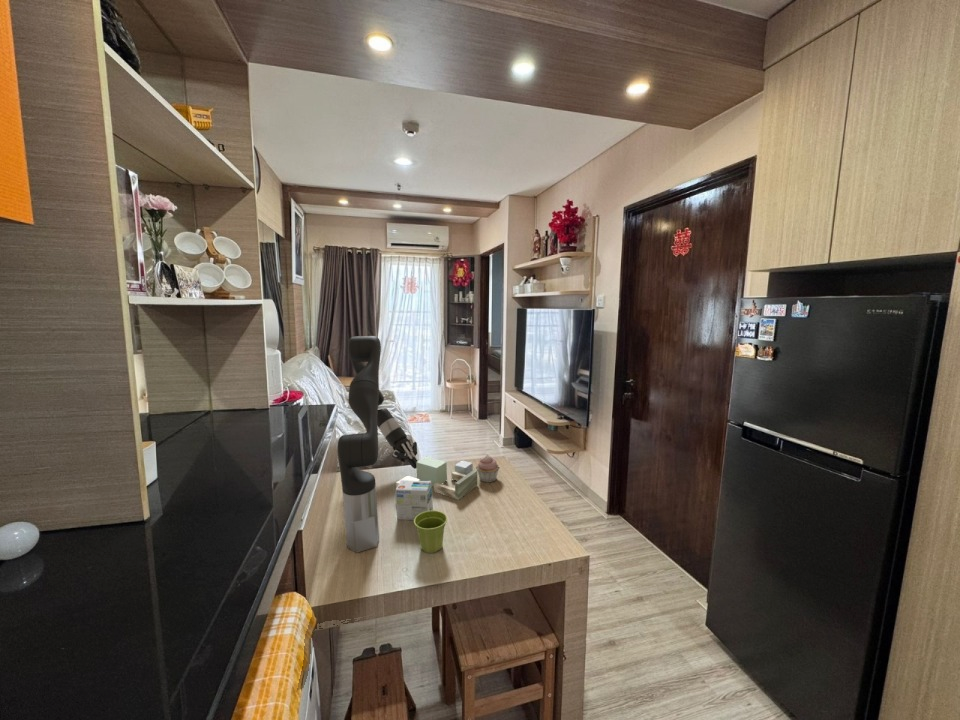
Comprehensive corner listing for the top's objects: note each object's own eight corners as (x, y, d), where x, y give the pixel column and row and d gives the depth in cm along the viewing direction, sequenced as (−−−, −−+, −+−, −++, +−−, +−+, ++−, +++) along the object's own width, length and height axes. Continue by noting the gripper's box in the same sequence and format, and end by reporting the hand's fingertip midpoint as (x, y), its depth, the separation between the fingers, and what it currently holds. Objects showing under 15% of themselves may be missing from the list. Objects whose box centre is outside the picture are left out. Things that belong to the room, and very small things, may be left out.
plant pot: (418, 536, 120) (417, 510, 118) (449, 536, 120) (448, 510, 118) (412, 557, 111) (410, 529, 109) (446, 557, 110) (445, 529, 109)
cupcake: (493, 471, 161) (492, 448, 159) (504, 481, 153) (503, 456, 151) (471, 476, 157) (471, 452, 155) (482, 486, 149) (481, 461, 147)
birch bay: (477, 485, 150) (477, 470, 149) (458, 500, 140) (458, 484, 139) (453, 478, 156) (453, 464, 154) (434, 491, 146) (433, 476, 145)
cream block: (420, 495, 144) (420, 479, 143) (409, 502, 139) (408, 486, 138) (408, 490, 147) (407, 475, 146) (396, 497, 142) (396, 482, 141)
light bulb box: (433, 509, 134) (432, 480, 132) (429, 521, 128) (427, 490, 126) (402, 508, 135) (400, 479, 133) (396, 520, 129) (394, 489, 127)
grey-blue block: (472, 474, 159) (472, 463, 158) (465, 479, 154) (465, 467, 154) (462, 471, 161) (462, 460, 160) (455, 476, 157) (454, 465, 156)
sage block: (447, 481, 154) (446, 461, 152) (437, 488, 149) (436, 468, 147) (427, 475, 159) (426, 456, 158) (417, 481, 154) (416, 462, 153)
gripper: (385, 432, 154) (410, 469, 150) (408, 422, 165) (432, 456, 161) (376, 442, 158) (400, 478, 153) (399, 432, 169) (423, 465, 164)
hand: (417, 467), depth 157 cm, fingers closed
